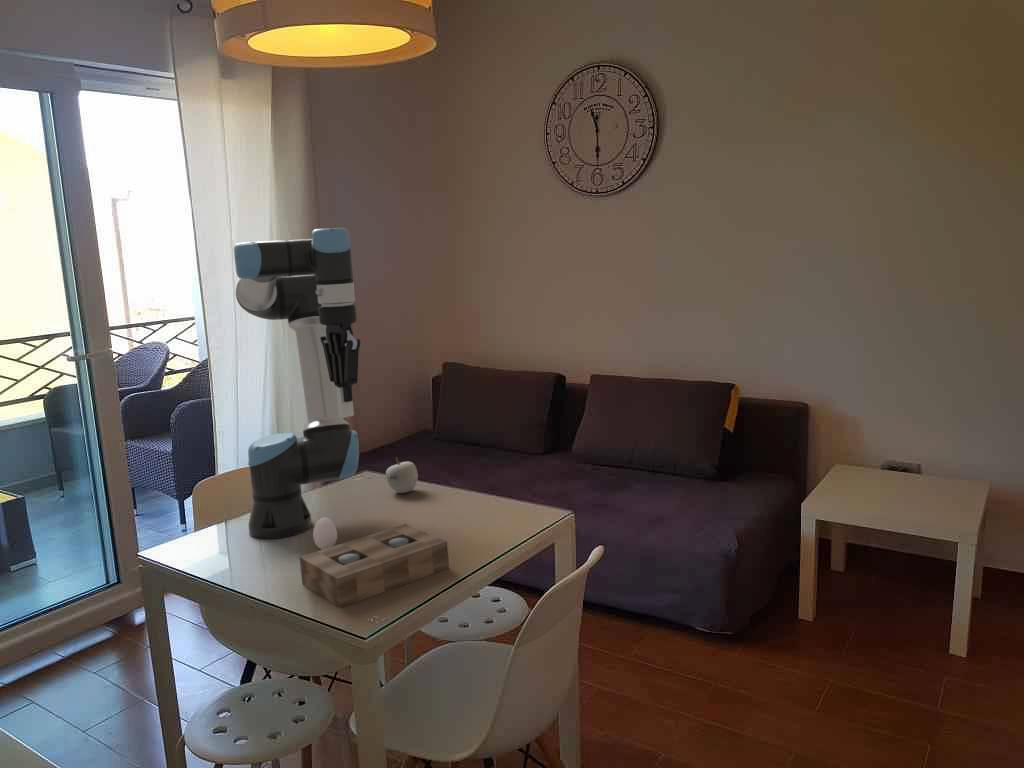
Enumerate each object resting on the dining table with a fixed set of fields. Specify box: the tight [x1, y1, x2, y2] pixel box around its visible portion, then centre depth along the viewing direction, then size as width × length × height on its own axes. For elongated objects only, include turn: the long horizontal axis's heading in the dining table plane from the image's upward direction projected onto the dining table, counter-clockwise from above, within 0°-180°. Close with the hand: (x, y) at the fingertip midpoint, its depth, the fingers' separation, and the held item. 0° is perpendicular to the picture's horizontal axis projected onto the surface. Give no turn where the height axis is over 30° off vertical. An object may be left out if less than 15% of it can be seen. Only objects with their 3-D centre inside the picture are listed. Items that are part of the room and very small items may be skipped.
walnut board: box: [299, 523, 450, 609], centre depth 172 cm, size 16×26×6 cm, turn 131°
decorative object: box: [385, 457, 419, 494], centre depth 228 cm, size 9×9×10 cm
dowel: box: [339, 554, 360, 565], centre depth 168 cm, size 4×4×6 cm
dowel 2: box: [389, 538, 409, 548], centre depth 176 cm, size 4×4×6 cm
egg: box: [312, 517, 338, 550], centre depth 188 cm, size 5×5×8 cm
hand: (346, 416), depth 173 cm, fingers closed
